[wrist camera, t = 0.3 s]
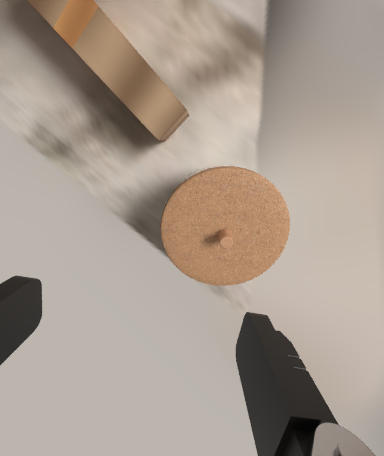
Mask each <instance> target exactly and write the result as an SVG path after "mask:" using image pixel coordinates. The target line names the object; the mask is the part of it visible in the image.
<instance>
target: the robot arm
mask: <svg viewBox="0 0 384 456" xmlns="http://www.w3.org/2000/svg"><path fill="white" fill-rule="evenodd" d="M41 286H42V285H41V281H40V280H39V279H35V278H28V277H22V276H14V277H12V278H10V279H8V280H6V281H5V282H3V283H1V284H0V365H1V364H2V363H3V362H4V361H5V360H6V359H7V358H8V357H9V356H10V355H11V354H12V353H13V352H14V351H15V350H16V349H17V348H18V347H19V346H20V345H21V344H22V343H23V342H24V341H25V340H26V339H27V338H28V337H29V336H30V335H31V334H32V333H33V332H34V331H35V329H36V328H37V326H38V325H39V322H40V320H41V317H42V287H41ZM236 362H237V366H238V370H239V375H240V379H241V383H242V388H243V392H244V396H245V401H246V405H247V410H248V414H249V418H250V423H251V427H252V432H253V436H254V440H255V445H256V449H257V453H258V456H376V455H375V454H374V453H373V452H372V451H371V450H370V448H369V447H368V446H367V445H365V443H364V442H363V441H362V440H360V439H359V438H358V437H357V436H356V435H354V434H353V433H352V432H350V431H349V430H347V429H345V428H344V427H341V426H340V425H338V423H337V421H336V420H335V418H334V416H333V414H332V412H331V411H330V409H329V407H328V406H327V404H326V402H325V400H324V399H323V397H322V395H321V393H320V392H319V390H318V388H317V386H316V385H315V383H314V381H313V379H312V378H311V376H310V374H309V372H308V371H306V367H305V365H304V364H303V362H302V360H301V359H299V355H298V353H297V351H296V350H295V348H294V346H293V344H292V343H291V342H290V341H289V340H288V339H287V338H286V337H285V336H284V335H283V334H282V333H281V332H280V331H276V330H275V329H274V327H273V325H272V323H271V321H270V319H269V318H268V316H267V315H262V314H256V313H250V312H247V313H246V314H245V316H244V319H243V323H242V326H241V330H240V333H239V337H238V340H237V344H236Z"/></svg>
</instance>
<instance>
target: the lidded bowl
mask: <svg viewBox="0 0 384 456" xmlns="http://www.w3.org/2000/svg"><path fill="white" fill-rule="evenodd" d="M289 230H290V218H289V212H288V209H287V206H286V203H285V201H284V199H283V197H282V196H281V193H280V192H279V191H278V190H277V189H276V187H275V186H274V185H273V184H272V183H270V182H269V181H268V180H267V179H266V178H264V177H262V176H261V175H259V174H257V173H255V172H253V171H250V170H247V169H245V168H239V167H234V166H213V167H209V168H206V169H203V170H200V171H198V172H196V173H194V174H193V175H191V176H190V177H189V178H187V179H186V180H185V181H184V182H183V183H182V184H181V185H180V186H179V187H178V188H177V189H176V190H175V191H174V192H173V194H172V195H171V197H170V198H169V200H168V202H167V204H166V206H165V208H164V211H163V214H162V218H161V238H162V243H163V246H164V249H165V251H166V253H167V255H168V257H169V258H170V260H171V261H172V262H173V264H174V265H175V266H176V267H177V268H178V269H179V270H180V271H182V272H183V273H184V274H186V275H187V276H189V277H191V278H193V279H195V280H197V281H199V282H203V283H206V284H211V285H223V286H225V285H235V284H239V283H243V282H246V281H249V280H252V279H253V278H255V277H257V276H259V275H260V274H262V273H263V272H265V271H266V270H267V269H268V268H270V267H271V266H272V265H273V264H274V263H275V261H276V260H277V259H278V258H279V256H280V255H281V253H282V251H283V249H284V248H285V245H286V242H287V240H288V235H289Z"/></svg>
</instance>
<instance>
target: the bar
mask: <svg viewBox="0 0 384 456" xmlns="http://www.w3.org/2000/svg"><path fill="white" fill-rule="evenodd" d="M27 1H28V2H29V3H30V4H31V5H32V6H33V7H34V8H35V9H36V10H37V11H38V12H39V13H40V14H41V16H42V17H43V18H44V19H45V20H46V21H47V22H48V23H49V24H50V25H51V26H52V27H53V28H54V29H55V30H56V32H57V33H58V34H59V35H60V36H61V37H62V38H63V39H64V40H65V41H66V42H67V43H68V44H69V45H70V47H71V48H72V49H73V50H74V51H75V52H76V53H77V54H78V55H79V56H80V57H81V58H82V59H83V60H84V61H85V63H86V64H87V65H88V66H89V67H90V68H91V69H92V70H93V71H94V72H95V73H96V74H97V75H98V76H99V78H100V79H101V80H102V81H103V82H104V83H105V84H106V85H107V86H108V87H109V88H110V89H111V90H112V91H113V92H114V94H115V95H116V96H117V97H118V98H119V99H120V100H121V101H122V102H123V103H124V104H125V105H126V106H127V107H128V108H129V110H130V111H131V112H132V113H133V114H134V115H135V116H136V117H137V118H138V119H139V120H140V121H141V122H142V123H143V125H144V126H145V127H146V128H147V129H148V130H149V131H150V132H151V133H152V134H153V135H154V136H155V137H156V138H157V139H158V140H161V141H166V140H167V139H168V138H169V137H170V136H171V135H172V134H173V133H174V132H175V130H176V129H177V128H178V127H179V126H180V125H181V124H182V123H183V122H184V121H185V120H186V118H187V117H188V116H189V114H188V112H187V110H186V108H185V107H184V106H183V105H182V103H181V102H180V101H179V100H178V99H177V98H176V96H175V95H174V94H173V93H172V92H171V91H170V89H169V88H168V87H167V86H166V85H165V84H164V82H163V81H162V80H161V79H160V78H159V76H158V75H157V74H156V73H155V72H154V71H153V69H152V68H151V67H150V66H149V65H148V64H147V62H146V61H145V60H144V59H143V58H142V57H141V55H140V54H139V53H138V52H137V51H136V50H135V48H134V47H133V46H132V45H131V44H130V42H129V41H128V40H127V39H126V38H125V37H124V35H123V34H122V33H121V32H120V31H119V30H118V28H117V27H116V26H115V25H114V24H113V23H112V21H111V20H110V19H109V18H108V17H107V16H106V14H105V13H104V12H103V11H102V10H101V8H100V7H99V6H98V5H97V4H96V3H95V1H94V0H27Z"/></svg>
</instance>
